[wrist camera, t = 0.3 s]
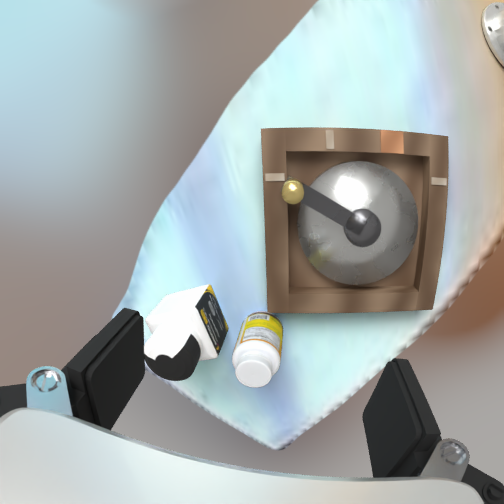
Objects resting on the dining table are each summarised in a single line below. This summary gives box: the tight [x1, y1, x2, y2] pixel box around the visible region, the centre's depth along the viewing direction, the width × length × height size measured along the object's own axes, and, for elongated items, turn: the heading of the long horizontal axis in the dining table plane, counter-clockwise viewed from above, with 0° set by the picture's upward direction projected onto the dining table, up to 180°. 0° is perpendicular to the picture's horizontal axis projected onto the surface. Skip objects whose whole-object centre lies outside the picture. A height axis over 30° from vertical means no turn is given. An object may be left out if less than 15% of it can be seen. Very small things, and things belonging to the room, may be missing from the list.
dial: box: [280, 161, 418, 285], centre depth 31 cm, size 16×14×7 cm
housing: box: [261, 128, 448, 313], centre depth 34 cm, size 21×21×3 cm
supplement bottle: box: [232, 311, 283, 388], centre depth 37 cm, size 6×6×10 cm
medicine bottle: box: [144, 284, 228, 381], centre depth 37 cm, size 7×7×12 cm
